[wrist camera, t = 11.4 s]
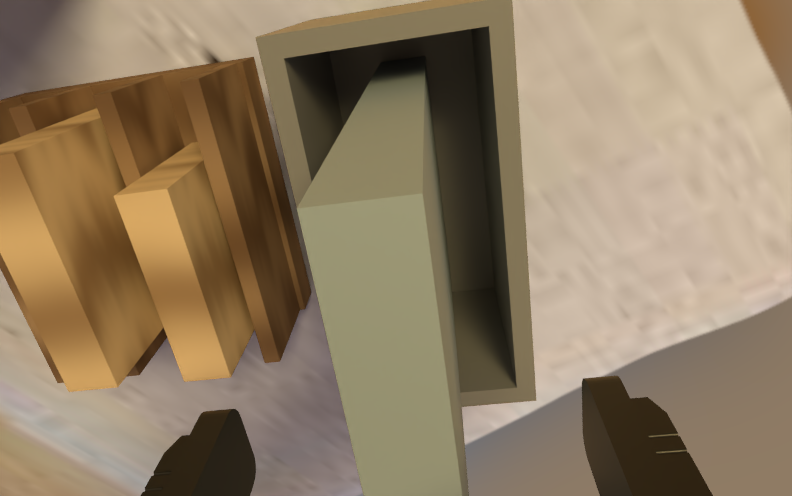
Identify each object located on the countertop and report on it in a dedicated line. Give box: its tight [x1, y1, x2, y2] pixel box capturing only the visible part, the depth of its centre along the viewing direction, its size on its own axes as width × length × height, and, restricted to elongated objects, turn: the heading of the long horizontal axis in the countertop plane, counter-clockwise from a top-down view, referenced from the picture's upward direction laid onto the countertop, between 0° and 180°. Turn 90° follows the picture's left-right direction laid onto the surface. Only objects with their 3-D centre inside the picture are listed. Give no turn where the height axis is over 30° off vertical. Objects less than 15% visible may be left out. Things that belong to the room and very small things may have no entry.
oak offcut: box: [0, 108, 163, 392], centre depth 26 cm, size 10×2×10 cm, turn 9°
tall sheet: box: [297, 56, 469, 496], centre depth 21 cm, size 12×2×20 cm, turn 8°
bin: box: [256, 0, 536, 407], centre depth 27 cm, size 17×9×10 cm, turn 9°
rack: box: [0, 57, 311, 383], centre depth 29 cm, size 14×13×7 cm
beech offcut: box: [114, 142, 255, 382], centre depth 27 cm, size 9×2×8 cm, turn 9°
